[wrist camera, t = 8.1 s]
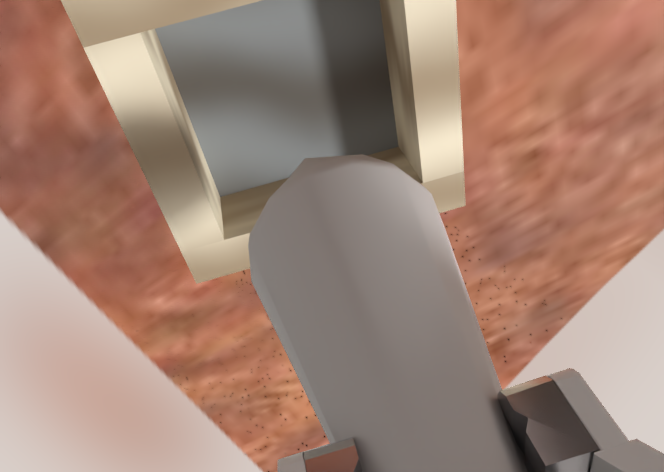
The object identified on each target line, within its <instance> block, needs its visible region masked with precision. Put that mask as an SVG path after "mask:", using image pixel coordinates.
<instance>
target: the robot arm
mask: <svg viewBox="0 0 664 472" xmlns="http://www.w3.org/2000/svg"><path fill="white" fill-rule="evenodd" d="M497 399H498V401H499V404H500V406H501V409H502V411H503V413H504V415H505V416H506V418H507V420H508V423H509V425H510V428H511V431H512V433H513V436H514V438H515V441H516V444H517V445H518V447H519V448H520V449H521V451H522V452H523V454H524V455H525V461H524V464H525V467H526V469H527V471H528V472H664V454H663V453H661V452H660V451H658V450H656V449H654V448H652V447H650V446H649V445H647V444H645V443H643V442H641V441H639V440H638V439H635V440H631V441H629V440H628V439H627V437H626V436H625V435H624V433H623V432H622V431H621V429H620V428H619V427H618V425H617V424H616V423H615V421H614V420H613V418H612V417H611V416H610V414H609V413H608V412H607V410H606V409H605V408H604V406H603V405H602V403H601V402H600V401H599V399H598V398H597V397H596V395H595V394H594V393H593V391H592V390H591V389H590V387H589V386H588V385H587V383H586V382H585V381H584V379H583V378H582V376H581V375H580V374H579V373H578V372H577V371H575V370H574V369H570V368H569V369H566V370H563V371H560V372H557V373H554V374H550V375H547V376H543V377H540V378H537V379H534V380H531V381H528V382H525V383H522V384H519V385H516V386H513V387H510V388H507V389H504V390H501V391H499V392H498V396H497ZM278 472H362V467H361V463H360V460H359V456H358V453H357V449H356V446H355V442H354V439H353V437H350V438H347V439H344V440H340V441H337V442H334V443H331V444H327V445H324V446H321V447H318V448H315V449H311V450H308V451H305V452H300V453H297V454H294V455H291V456H288V457H285V458H282V459H279V460H278Z"/></svg>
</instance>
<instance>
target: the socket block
mask: <svg viewBox="0 0 664 472" xmlns="http://www.w3.org/2000/svg"><path fill="white" fill-rule="evenodd" d="M61 2H62V4H63V6H64V8H65V10H66V12H67V14H68V16H69V18H70V20H71V22H72V25H73V27H74V29H75V31H76V33H77V35H78V37H79V39H80V41H81V43H82V45H83V48H84V50H85V52H86V54H87V56H88V58H89V60H90V62H91V64H92V66H93V68H94V71H95V73H96V75H97V77H98V79H99V81H100V83H101V85H102V87H103V89H104V91H105V94H106V96H107V98H108V100H109V102H110V104H111V106H112V108H113V110H114V112H115V114H116V117H117V119H118V121H119V123H120V125H121V127H122V129H123V131H124V133H125V135H126V137H127V140H128V142H129V144H130V146H131V148H132V150H133V152H134V154H135V156H136V158H137V160H138V162H139V165H140V167H141V169H142V171H143V173H144V175H145V177H146V179H147V181H148V183H149V185H150V188H151V190H152V192H153V194H154V196H155V198H156V200H157V202H158V204H159V206H160V208H161V211H162V213H163V215H164V217H165V219H166V221H167V223H168V225H169V227H170V229H171V231H172V234H173V236H174V238H175V240H176V242H177V244H178V246H179V248H180V250H181V252H182V254H183V257H184V259H185V261H186V263H187V265H188V267H189V269H190V271H191V273H192V275H193V277H194V279H195V282H196V284H197V283H201V282H204V281H208V280H211V279H214V278H218V277H221V276H225V275H228V274H232V273H235V272H239V271H242V270H245V269H249V268H250V259H249V249H248V243H249V236H250V233H251V231H252V229H253V227H254V225H255V223H256V222H257V220H258V218H259V216H260V214H261V212H262V210H263V209H264V207H265V205H266V203H267V201H268V199H269V198H270V197H271V196H272V195H273V194H274V193H275V192H276V191H277V190H278V189H279V188H280V187H281V185H282V184H283V183H284V182H285V181H286V180H287V179H288V178H289V177H290V176H291V174H292V173H293V172H294V171H295V170H296V169H297V167H298V166H299V165H300V164H301V163H302V161H303V160H304V159H305V158H317V157H332V156H346V155H361V154H363V155H366V156H370V157H373V158H376V159H380V160H383V161H386V162H389V163H393V164H394V165H396V166H397V167H398V168H400V169H401V170H402V171H404V172H405V173H406V174H408V175H409V176H410V177H412V178H413V179H415V180H416V181H417V182H419V183H420V184H421V185H423V186H424V187H425V188H426V189H427V190H428V191H429V192H430V193H431V194H432V196H433V199H434V201H435V204H436V206H437V209H438V212H439V213H442V212H445V211H449V210H452V209H455V208H459V207H462V206H466V205H465V184H464V163H463V142H462V120H461V99H460V78H459V57H458V36H457V15H456V0H61Z"/></svg>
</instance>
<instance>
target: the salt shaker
mask: <svg viewBox="0 0 664 472" xmlns="http://www.w3.org/2000/svg"><path fill="white" fill-rule="evenodd" d="M248 249H249V259H250V270H251V280H252V283H253V285H254V287H255V290H256V292H257V294H258V296H259V298H260V300H261V302H262V304H263V306H264V308H265V310H266V312H267V314H268V316H269V318H270V320H271V322H272V325H273V327H274V329H275V331H276V333H277V335H278V337H279V339H280V341H281V343H282V345H283V347H284V349H285V351H286V353H287V355H288V357H289V360H290V362H291V364H292V366H293V368H294V370H295V372H296V374H297V376H298V378H299V380H300V382H301V384H302V386H303V388H304V390H305V392H306V394H307V397H308V399H309V401H310V403H311V405H312V407H313V409H314V411H315V413H316V415H317V417H318V419H319V421H320V423H321V425H322V427H323V429H324V432H325V434H326V436H327V438H328V440H329V442H330V444H331V443H334V442H337V441H340V440H344V439H347V438H350V437H353V439H354V442H355V446H356V449H357V453H358V456H359V460H360V463H361V467H362V472H528V471H527V469H526V467H525V464H524V461H525V455H524V454H523V452H522V451H521V449H520V448H519V447H518V445H517V444H516V441H515V438H514V436H513V433H512V431H511V428H510V425H509V423H508V420H507V418H506V416H505V415H504V413H503V411H502V409H501V406H500V404H499V401H498V399H497V396H498V392H499V391H501V390H502V388H501V386H500V383H499V380H498V377H497V374H496V371H495V369H494V366H493V363H492V360H491V357H490V355H489V352H488V349H487V346H486V343H485V340H484V338H483V335H482V332H481V329H480V326H479V323H478V321H477V318H476V315H475V312H474V309H473V306H472V304H471V301H470V298H469V295H468V292H467V290H466V287H465V284H464V281H463V278H462V275H461V273H460V270H459V267H458V264H457V261H456V258H455V256H454V253H453V250H452V247H451V244H450V241H449V239H448V236H447V233H446V230H445V227H444V225H443V222H442V219H441V217H440V214H439V212H438V209H437V206H436V204H435V201H434V199H433V196H432V194H431V193H430V192H429V191H428V190H427V189H426V188H425V187H424V186H423V185H421V184H420V183H419V182H417V181H416V180H415V179H413V178H412V177H410V176H409V175H408V174H406V173H405V172H404V171H402V170H401V169H400V168H398V167H397V166H396V165H394V164H393V163H389V162H386V161H383V160H380V159H376V158H373V157H370V156H366V155H363V154H361V155H346V156H332V157H317V158H305V159H304V160H303V161H302V163H301V164H300V165H299V166H298V167H297V169H296V170H295V171H294V172H293V173H292V174H291V176H290V177H289V178H288V179H287V180H286V181H285V182H284V183H283V184H282V185H281V187H280V188H279V189H278V190H277V191H276V192H275V193H274V194H273V195H272V196H271V197H270V198H269V199H268V201H267V203H266V205H265V207H264V209H263V210H262V212H261V214H260V216H259V218H258V220H257V222H256V223H255V225H254V227H253V229H252V231H251V233H250V236H249V243H248Z"/></svg>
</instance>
